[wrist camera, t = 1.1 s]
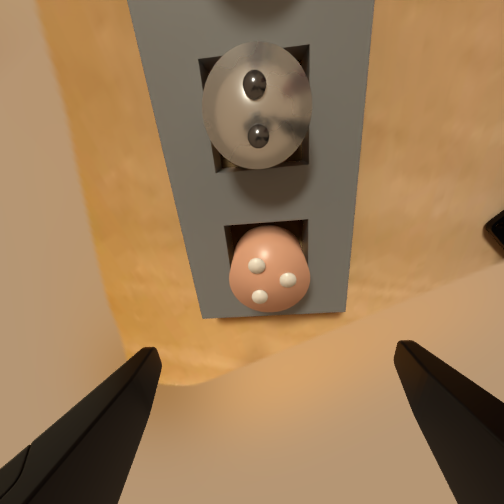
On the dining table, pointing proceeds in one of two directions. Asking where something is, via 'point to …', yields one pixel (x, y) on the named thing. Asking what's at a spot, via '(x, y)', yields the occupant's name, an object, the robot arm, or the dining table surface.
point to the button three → (269, 269)
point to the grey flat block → (273, 178)
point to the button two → (257, 105)
